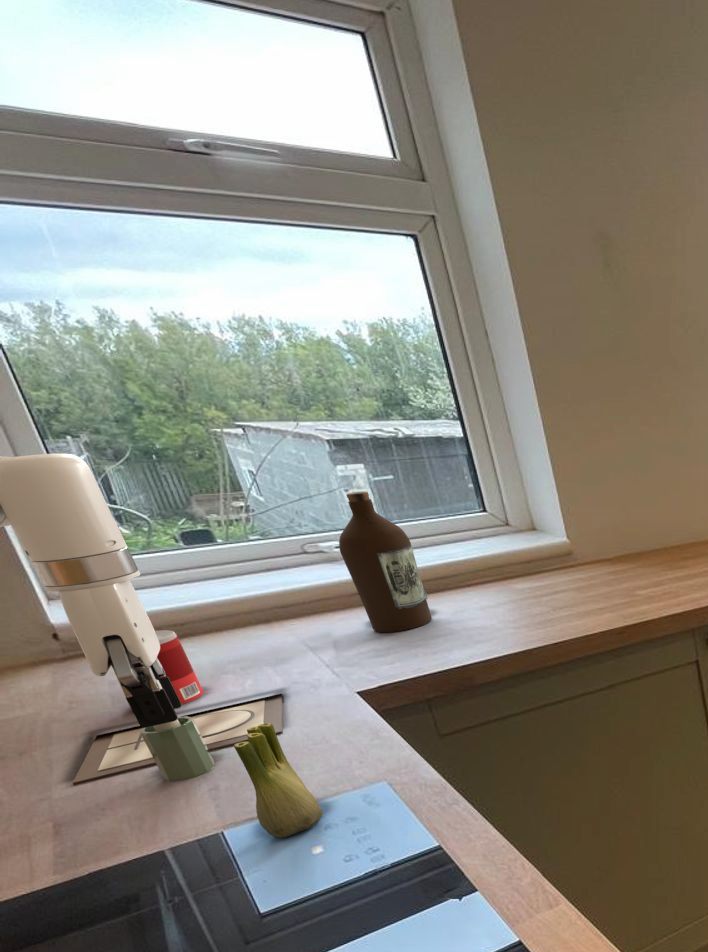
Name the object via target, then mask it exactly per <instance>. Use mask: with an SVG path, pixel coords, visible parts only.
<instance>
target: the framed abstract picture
mask: <svg viewBox="0 0 708 952" xmlns="http://www.w3.org/2000/svg"><path fill="white" fill-rule="evenodd" d="M284 703H285V698H284V694H283V693H277V694H273V695H268V696H264V697H261V698H255V699H251V700H247V701H242V702H238V703H234V704H233V703H232V704H230V705H229V704H228V705H225V706H221V707H216V708H212V709H207V710H203V711H202V710H201V711H197V712H193V713H190V714H185V715H181V716H179V717H185V716H187V717H192V718H193V720H194V722H195V724H196V726H197V728H198V730H199V732H200V734H201V736H202V738H203V740H204V742H205V744H206V746H207V748H208V750H209V752H210V753H211V752H214V751H218V750H221V749H226V748H230V747H234V745H235V744H237V743H241V742H249V740H248V737H247V735H248V732H247V729H249V728H252V727H257V726H258V725H260V724H265V723H271V724H272V725H273V727H274V730H275V733H276V735H277V736H279V735H282V734H284ZM141 729H143V727H141V726H140V725H137V726H132V727H127V728H123V729H119V730H115V731H110V732H105V733H102V734H97V735H96V736H95V738H94V740H93V742H92V744H91V746H90V748H89V749H88V752H87V753H86V755H85V757H84V759H83V761H82V764H81V765H80V767H79V769H78V772H77V774H76V775H75V777H74V779H73V781H72V785H73V786H77V785H81V784H85V783H89V782H94V781H97V780H101V779H105V778H109V777H113V776H117V775H121V774H125V773H130V772H133V771H137V770H142V769H145V768H150V767H153V766H157V764H156V762H155V760H154V758H153V756H152V754H151V753H150V751H149V749H148V747H147V745H146V743H145V741H144V739H143V737H142V735H141V733H140V731H141Z"/></svg>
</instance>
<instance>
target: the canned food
mask: <svg viewBox="0 0 708 952" xmlns="http://www.w3.org/2000/svg"><path fill="white" fill-rule="evenodd" d="M155 633H156V635H157V638H158V640H159V643H160V651H159V653H158V656H157V658H158V660H159V662H160V664H161V666H162V667H163V669H164V671H165V674H166V676H164V677H167V676H168V677H169V679H170V681H171V683H172V685H173V687H174V689H175V691H176V693H177V695H178V697H179V699H180V701H181V705H184V704H187V703H190V702H192V701H195V700H197V699H198V698H201V697H202V696H203V695H204V693H205V692H204V690H203V688H202V686H201V683H200V681H199V679H198V677H197V675H196V672H195V671H194V669H193V666H192V664H191V662H190V660H189V658H188V656H187V653H186V651H185V649H184V647H183V645H182V643H181V641H180V639H179V637H178V635H177V633H175V631H174V630H170V629H169V630H167V629H164V630H155ZM133 665H134V664H133ZM110 667H112V665H111V666H110ZM134 667H135V665H134ZM160 678H163V677H160Z"/></svg>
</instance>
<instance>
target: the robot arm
mask: <svg viewBox="0 0 708 952" xmlns="http://www.w3.org/2000/svg"><path fill="white" fill-rule="evenodd" d="M9 526H11V528H12V529H13V531H14V533H15V535H16V536H17V538H18V541H19V542H20V544H21V546H22V548H23V550H24V552H25V554H26V555H27V557H28V559H29V561H30V563H31V564H32V566H33V568H34V570H35V572H36V575H38V578H39V580H40V582H41V584H42V585H43V588H44V589H45V591H47V592H58V596H59V598H60V601H61V604H62V607H63V610H64V612H65V614H66V617H67V620H68V622H69V624H70V626H71V629H72V631H73V633H74V635H75V637H76V639H77V641H78V644H79V646H80V648H81V650H82V652H83V654H84V656H85V659H86V661H87V663H88V665H89V667H90V670H91V672H92V673H93V674H94V675H95V676H98V677H105V676H106V675H107V673H108V672H109V670H110V668H112V669H113V672H114V675H115V676H116V679H117V680H118V683H119V685H120V687H121V690H122V692H123V694H124V696H125V699H126V702H127V703H128V705H129V707H130V709H131V711H132V713H133V715H134V717H135V720H137V723H138V726H141V727H143V728H147V727H151V726H155V725H160V724H164V723H169V722H173V721H176V720H177V718H178V717H179V716H178V715H177V711H176V710H177V709H179V708H181V707H182V704H181V701H180V699H179V697H178V695H177V693H176V691H175V689H174V687H173V685H172V683H171V681H170V679H169V677H168V676H167V677H164V676H166V674H165V671H164V669H163V667H162V666H161V664H160V662H159V660H158V658H157V656H158V653H159V651H160V643H159V640H158V638H157V635H156V633H155V631H156V630H155V628H154V625H153V624H152V621H151V619H150V617H149V615H148V613H147V611H146V609H145V607H144V605H143V603H142V601H141V599H140V597H139V595H138V593H137V592H136V589H135V587H134V585H133V583H132V582H131V580H133V579H135V578H138V577H140V576H141V572H140V570H139V568H138V566H137V564H136V561H135V560H134V557H133V556H132V553H131V551H130V549H129V547H128V545H127V543H126V540H125V539H124V536H123V535H122V532H121V530H120V528H119V525H118V524H117V522H116V519H115V517H114V515H113V513H112V511H111V509H110V507H109V505H108V503H107V501H106V499H105V497H104V494H103V493H102V490H101V488H100V487H99V483H98V482H97V480H96V478H95V476H94V474H93V472H92V470H91V468H90V466H89V464H87V462H86V461H85V460H84V459H82V458H81V457H79V456H77V455H74V454H69V453H41V454H29V455H19V456H5V455H0V528H4V527H9ZM133 664H134V665H135V667H134V665H133ZM111 665H112V666H111ZM160 677H163V678H160ZM156 680H158V681H159V682H160V684H161V686H162V688H163V689H160V688H159V686H158V683H157V681H156Z"/></svg>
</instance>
